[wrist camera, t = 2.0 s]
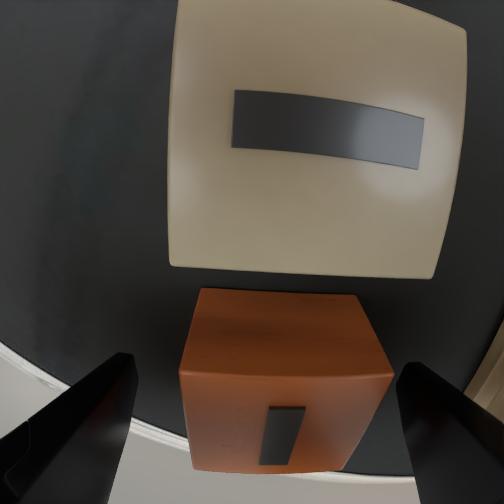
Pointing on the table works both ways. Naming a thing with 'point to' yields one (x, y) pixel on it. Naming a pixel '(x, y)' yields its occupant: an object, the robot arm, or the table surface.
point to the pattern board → (489, 373)
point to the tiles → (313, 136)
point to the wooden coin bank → (279, 381)
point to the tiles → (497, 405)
